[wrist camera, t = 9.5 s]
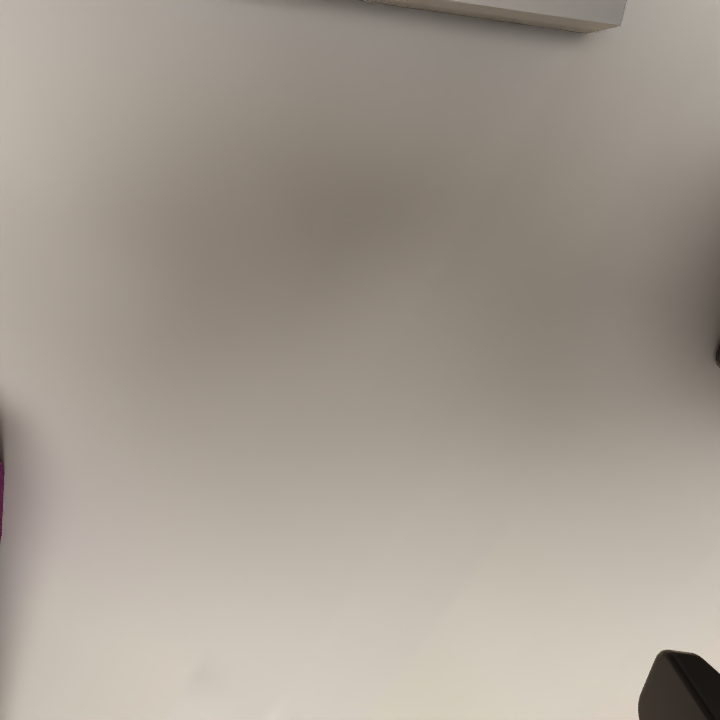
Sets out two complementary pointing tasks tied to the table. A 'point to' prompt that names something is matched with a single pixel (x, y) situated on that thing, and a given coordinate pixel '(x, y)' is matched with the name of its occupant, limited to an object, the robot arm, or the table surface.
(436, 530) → the table surface
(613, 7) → the housing
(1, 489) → the mounting bracket
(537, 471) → the table surface
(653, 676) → the robot arm
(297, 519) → the table surface
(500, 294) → the table surface
